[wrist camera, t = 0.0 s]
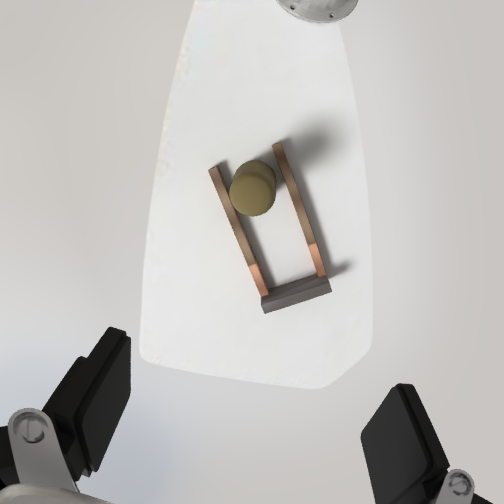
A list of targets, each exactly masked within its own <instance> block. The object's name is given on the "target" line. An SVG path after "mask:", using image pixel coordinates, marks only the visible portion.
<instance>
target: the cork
mask: <svg viewBox="0 0 504 504" xmlns="http://www.w3.org/2000/svg"><path fill="white" fill-rule="evenodd" d="M275 188H276V176H275V173H274V171H273V170H272V168H271V167H270V166H268V165H267V164H266V163H263V162H261V161H249V162H246V163H244V164H242V165H241V166H240V167H239V168H238V169H237V171H236V173H235V175H234V180H233V182H232V184H231V186H230V192H229V196H230V201H231V203H232V205H233V206H234V208H235V209H236V210H237V211H238V212H240V213H242V214H244V215H246V216H258V215H262V214H264V213H265V212H267V211H268V210H269V209H270V208H271V207H272V205H273V203H274V201H275V197H276V191H275Z"/></svg>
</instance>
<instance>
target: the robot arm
mask: <svg viewBox="0 0 504 504" xmlns="http://www.w3.org/2000/svg"><path fill="white" fill-rule="evenodd" d="M277 2H278V3H279V4H280V5H281V7H282V8H284V9H285V10H286V11H287V12H289V13H290V14H292V15H293V16H295V17H298V18H300V19H302V20H306V21H309V22H315V23H330V22H335V21H338V20H341V19H343V18H344V17H346V16H348V15H349V14H350V13H351V12H352V11H353V9H354V8H355V7H356V5H357V2H358V0H277ZM291 8H293V9H294V10H292V9H291ZM329 16H331V17H332V18H331V17H329ZM130 361H131V338H130V337H128V336H126V332H125V331H123V330H120V329H117V328H113V327H109V328H108V329H107V330H106V332H105V333H104V335H103V336H102V337H101V339H100V340H99V342H98V343H97V344H96V346H95V347H94V349H93V350H92V352H91V353H90V355H89V356H88V357H87V358H85V357H82V356H80V357H78V358H77V360H76V361H75V362H74V364H73V365H72V367H71V368H70V369H69V371H68V372H67V374H66V375H65V376H64V378H63V379H62V381H61V382H60V384H59V385H58V387H57V388H56V390H55V391H54V392H53V394H52V395H51V397H50V399H49V400H48V402H47V403H46V405H45V406H44V407H43V409H42V411H40V410H38V409H34V408H24V409H21V410H18V411H17V412H15V413H14V414H13V415H12V416H11V418H10V419H9V422H8V426H4V427H0V504H114V503H111V502H107V501H104V500H100V499H97V498H95V497H91V496H89V495H85V494H82V493H80V491H79V489H78V486H77V484H76V481H79V479H80V477H81V475H84V476H87V477H90V475H91V473H92V471H94V472H97V471H98V469H99V467H100V465H101V462H102V459H103V457H104V455H105V453H106V450H107V448H108V446H109V443H110V441H111V439H112V436H113V434H114V432H115V429H116V427H117V425H118V422H119V420H120V418H121V416H122V413H123V411H124V409H125V406H126V404H127V402H128V399H129V397H130V391H131V382H130V380H131V379H130V378H131V373H130V372H131V371H130V369H131V368H130V367H131V363H130ZM361 443H362V447H363V450H364V455H365V458H366V463H367V467H368V471H369V476H370V480H371V484H372V489H373V493H374V498H375V503H376V504H493V503H491V502H489V501H487V500H485V499H484V498H482V497H480V496H478V495H477V494H475V493H474V487H475V486H474V481H473V479H472V478H471V476H470V475H469V474H468V473H466V472H465V471H463V470H460V469H454V470H451V471H450V472H448V471H447V469H448V468H449V467H450V465H449V462H448V460H447V457H446V455H445V453H444V451H443V448H442V446H441V443H440V441H439V439H438V437H437V434H436V432H435V430H434V428H433V425H432V423H431V421H430V419H429V417H428V415H427V412H426V410H425V408H424V406H423V404H422V402H421V400H420V398H419V395H418V393H417V392H416V389H415V387H414V386H413V385H412V384H401V383H399V384H397V385H396V386H395V387H393V388H392V389H391V390H390V392H389V393H388V395H387V396H386V398H385V399H384V401H383V402H382V404H381V405H380V407H379V408H378V409H377V411H376V412H375V414H374V415H373V417H372V418H371V419H370V421H369V422H368V424H367V425H366V426H365V428H364V429H363V431H362V433H361Z"/></svg>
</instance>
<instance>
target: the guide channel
mask: <svg viewBox="0 0 504 504" xmlns="http://www.w3.org/2000/svg"><path fill="white" fill-rule="evenodd" d="M272 148H273V150H274V153H275V155H276V158H277V161H278V163H279V166H280V169H281V171H282V174H283V177H284V179H285V182H286V185H287V187H288V190H289V193H290V196H291V198H292V201H293V204H294V207H295V210H296V212H297V215H298V218H299V221H300V224H301V227H302V230H303V232H304V235H305V238H306V241H307V244H308V247H309V250H310V253H311V256H312V259H313V262H314V265H315V268H316V271H317V274H315V275H312V276H309V277H306V278H303V279H300V280H297V281H294V282H291V283H288V284H285V285H282V286H279V287H276V288H273V289H270V290H268V288H267V285H266V283H265V280H264V278H263V275H262V273H261V270H260V268H259V266H258V263H257V261H256V258H255V256H254V253H253V251H252V248H251V246H250V244H249V241H248V239H247V236H246V234H245V231H244V229H243V226H242V224H241V222H240V219H239V217H238V214H237V212H236V209H235V208H234V206H233V205H232V203H231V201H230V196H229V192H228V190H227V187H226V185H225V182H224V180H223V178H222V175H221V173H220V170H219V168H218V166H216V167H214V168H211V169H209V170H208V171H209V174H210V176H211V178H212V181H213V183H214V186H215V188H216V190H217V193H218V195H219V198H220V200H221V203H222V205H223V207H224V210H225V212H226V215H227V217H228V219H229V222H230V224H231V226H232V229H233V231H234V234H235V236H236V238H237V241H238V243H239V246H240V248H241V250H242V253H243V255H244V257H245V260H246V262H247V265H248V267H249V269H250V272H251V274H252V276H253V279H254V281H255V284H256V286H257V288H258V291H259V293H260V295H261V306H262V309H263V311H264V313H265V314H266V313H269V312H272V311H276V310H279V309H282V308H285V307H288V306H291V305H294V304H297V303H300V302H303V301H306V300H309V299H312V298H315V297H318V296H321V295H324V294H327V293H330V292H332V290H331V286H330V283H329V280H328V278H327V276H326V273H325V269H324V266H323V263H322V260H321V257H320V254H319V251H318V247H317V244H316V241H315V238H314V235H313V232H312V229H311V226H310V223H309V220H308V218H307V215H306V212H305V209H304V206H303V203H302V200H301V197H300V195H299V192H298V189H297V186H296V183H295V181H294V178H293V175H292V172H291V170H290V167H289V164H288V162H287V159H286V156H285V154H284V151H283V148H282V146H281V143H277V144H274V145H272Z"/></svg>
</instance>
